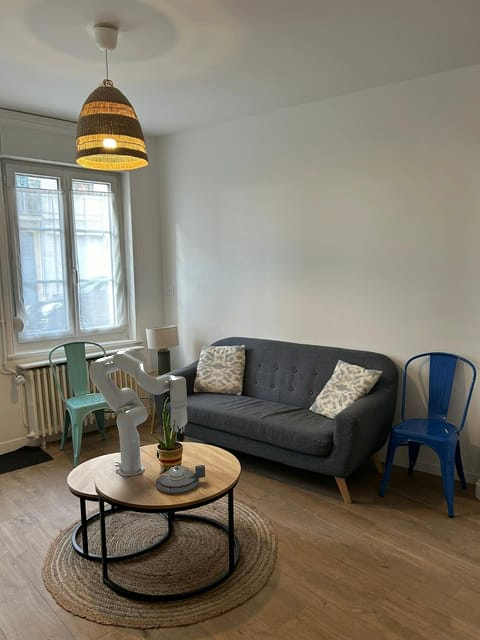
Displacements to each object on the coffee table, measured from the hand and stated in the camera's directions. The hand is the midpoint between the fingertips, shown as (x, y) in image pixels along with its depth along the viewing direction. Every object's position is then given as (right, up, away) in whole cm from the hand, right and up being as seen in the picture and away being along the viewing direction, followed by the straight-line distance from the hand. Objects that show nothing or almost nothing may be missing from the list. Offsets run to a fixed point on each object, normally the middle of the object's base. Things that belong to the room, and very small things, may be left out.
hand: (180, 440), depth 225 cm
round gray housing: (+1, -17, -4) cm, 18 cm away
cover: (-1, -16, -4) cm, 16 cm away
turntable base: (-1, -20, -3) cm, 20 cm away
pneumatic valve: (-7, -18, +15) cm, 24 cm away
